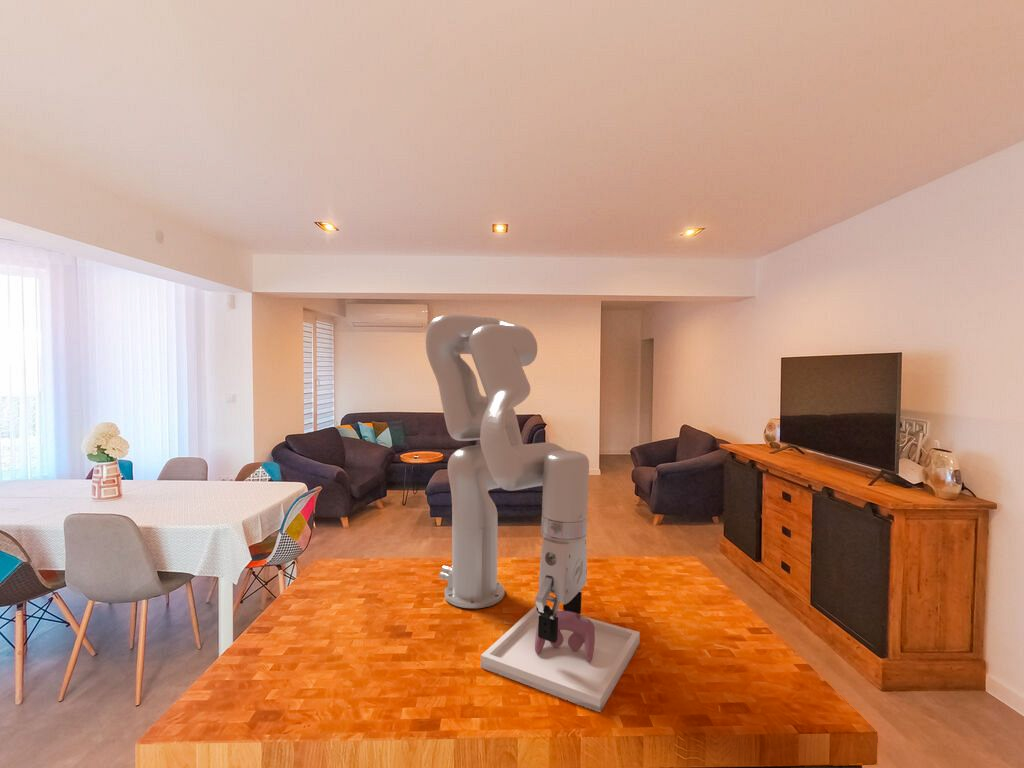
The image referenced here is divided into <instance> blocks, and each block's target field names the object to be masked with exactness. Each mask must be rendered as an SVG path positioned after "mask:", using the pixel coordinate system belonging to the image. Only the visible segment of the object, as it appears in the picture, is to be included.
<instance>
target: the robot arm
mask: <svg viewBox="0 0 1024 768" xmlns="http://www.w3.org/2000/svg"><path fill="white" fill-rule="evenodd" d="M425 334H426V335H425V350H426V356H427V359H428V363H429V365H430V367H431V369H432V371H433V374H434V376H435V379H436V383H437V386H438V391H439V395H440V396H439V397H440V401H441V406H442V410H443V411H442V412H443V416H444V422H445V425H446V429H447V432H448V434H449V436H450V438H451V439H453V440H455V441H460V442H468V441H479V440H480V441H479V442H480V444H475V445H474V444H473V445H468V446H463V447H461V448H458V449H456V450H455V451H454V452H453V453H452V454H451V455H450V457H449V458H448V461H447V476H448V477H447V478H448V480H449V481H448V482H449V487H450V494H451V495H450V496H451V511H452V514H451V517H452V518H451V519H452V520H451V524H452V525H451V533H452V535H451V537H452V538H451V539H452V540H451V542H452V546H451V549H452V550H451V552H452V553H451V556H452V557H451V566H450V565H443V566H442V567H441V570H440V572H439V574H438V578H439V579H441V580H444V581H445V580H446V581H447V586H445V589H444V598H445V600H446V601H447V602H448V603H449V604H451V605H453V606H454V607H457V608H462V609H463V608H464V609H484V608H487V607H488V608H489V607H491V606H495V605H496V604H498V603H499V602H500V601H502V600H503V598H504V597H505V587H504V585H503V583H501V582H499V581H498V526H499V525H498V522H499V521H498V509H497V506H496V504H495V502H494V501H493V499H492V497H491V496H490V494H489V491H490V490H495V489H502V490H505V491H519V490H524V489H529V488H534V487H535V488H536V487H542V502H541V503H542V504H541V528H540V529H541V530H540V534H541V535H542V537H543V538H542V544H541V545H542V546H541V552H540V562H539V572H538V573H539V574H538V575H539V576H538V577H539V579H538V592H537V593H536V596H535V598H534V601H535V604H536V605H535V606H536V607H537V608H536V609H537V611H538V612H537V614H538V615H539V622H538V636H539V638H542V639H545V640H547V641H550V642H553V643H556V641H557V638H558V617H556V614H557V611H558V609H559V607H560V604H562V610H563V611H570V612H574V613H577V614H580V615H581V613H582V595H583V594H582V591H583V588H584V587H585V585H586V584H587V580H588V551H587V549H588V548H587V534H588V533H587V532H588V531H587V530H588V527H587V526H588V508H589V507H588V506H589V480H590V460H589V458H588V456H587V455H586V454H584V453H581V451H575V450H567V449H566V448H563V446H562V447H561V446H559V445H558V444H556V443H553V442H537V443H536V442H535V443H528V444H527V443H526V444H525V443H523V438H522V434H521V431H520V426H519V421H518V417H517V414H516V410H515V409H514V408H515V407H518V406H519V405H520V404H522V403H523V402H524V401H525V400H526V399H527V398H528V397H529V396H530V393H531V385H530V382H529V380H528V378H527V376H526V373H525V371H524V368H523V367H527V366H530V365H531V364H533V362H534V361H536V358H537V355H538V342H537V339H536V337H535V335H534V333H532V331H531V330H530V329H529V328H527V327H525V326H523V325H520V324H517V323H512V322H510V321H506V320H504V319H500V318H496V317H489V316H488V317H487V316H480V315H479V316H477V315H467V314H458V313H457V314H443V315H440V316H436V317H435V318H433V319H432V320H431V322H429V324H428V327H427V330H426V333H425ZM461 355H471V358H472V360H473V362H474V363H473V364H474V365H475V368H476V370H477V374H478V376H479V379H480V382H481V385H482V387H483V390H484V393H485V396H484V395H482V394H481V392H480V389H479V386H478V385H479V384H478V380H477V376H476V374H475V372H474V370H473V369H472V368H471V366H470V365H469V364H468V362H466V361H465V360H464V359H463V358H462V356H461ZM550 594H553V595H555V596H552V595H550ZM548 601H549V602H552V603H553V605H552V606H549V605H548V603H547V602H548ZM550 607H552V610H551V608H550Z"/></svg>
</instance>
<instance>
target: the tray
mask: <svg viewBox="0 0 1024 768" xmlns="http://www.w3.org/2000/svg"><path fill="white" fill-rule="evenodd" d="M549 607H550V608H551V610H552V607H553V606H549ZM536 608H537V607H536V605H534V606H533V607H532V608H531V609H530V610H529V611H528V612H527V613H526V614H524V616H522V617H521V618H520V619H519V620H518V621H516V623H514V624H513V626H512V627H510V628H509V629H508V630H507V631H506V632H505V633H504V634H503V635H502V636H500V637H499V638H498V639H497V640H496V641H495V642H494V643H492V645H490V646H489V647H488V648H487V649H486V650H485V651H484V652H483V653H481V654H480V668H481V669H483V670H485V671H489V672H492V673H494V674H496V675H500V676H501V677H504V678H507V679H510V680H513V681H514V682H517V683H521V684H523V685H525V686H528V687H531V688H534V689H535V690H538V691H541V692H543V693H547V694H549V695H551V696H554V697H556V698H557V697H558V698H559V699H562V700H564V701H567V700H568V701H567V702H571V703H573V704H575V705H577V706H580V705H582V706H581V707H583V706H584V707H583V708H586V709H588V708H589V709H588V710H591V709H593V710H595V711H594V712H596V711H598V712H597V713H599V712H600V713H601V712H602V711H603V708H604V707H605V705H606V703H607V701H608V700H609V698H610V696H611V695H612V693H613V691H614V689H615V687H616V686H617V684H618V682H619V681H620V678H622V675H623V673H624V672H625V670H626V668H627V666H628V665H629V663H630V661H631V659H632V658H633V656H634V654H635V652H636V650H637V649H638V647H639V645H640V638H641V635H640V634H641V632H640V631H636V630H634V629H631V628H626V627H622V626H620V625H616V624H613V623H610V622H605V621H602V620H597V619H594V618H591V617H587V616H585V617H586V618H587V619H589V620H590V621H591V622H592V623H593V625H594V628H595V644H594V653H593V657H592V660H591V661H590V662H587V660H586V656H585V643H583V644H582V646H581V647H580V649H578V650H573V649H571V648H570V647H569V645H568V639H569V637H570V636H571V635H572V634H573V632H572V631H568V630H560V632H561V634H562V636H563V643H562V645H561V646H559V647H554V646H552V645H551V643H550V641H547V640H545V644H544V646H543V649H542V651H541V652H540V653H539V654H537V653H536V652H535V637H536V631H537V626H538V622H539V615H538V614H537V612H538V611H537V609H536ZM558 611H564V610H563V609H559V608H558ZM593 710H592V711H593ZM601 710H602V711H601Z"/></svg>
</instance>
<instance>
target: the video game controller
mask: <svg viewBox="0 0 1024 768" xmlns="http://www.w3.org/2000/svg"><path fill="white" fill-rule="evenodd" d="M556 617H558V638H557V641H556V643H553V642H550V643H551V645H552V646H554V647H559V646H561V645H562V643H563V636H562V634H561V632H560V630H568V631H572V632H573V634H572V635H571V636H570V637H569V639H568V645H569V647H570V648H571V649H573V650H578V649H580V647H581V646H582V644H583V643H585V656H586V660H587V662H590V661H591V660H592V657H593V653H594V644H595V628H594V625H593V623H592V622H591V621H590V620H589V619H587V618H586V617H587V616H584V615H581V613H580V614H577V613H574V612H570V611H564V610H563V611H557V614H556ZM544 644H545V639H542V638H539V636H538V626H537V631H536V637H535V652H536V653H537V654H539V653H540V652H541V651H542V649H543V646H544Z"/></svg>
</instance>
